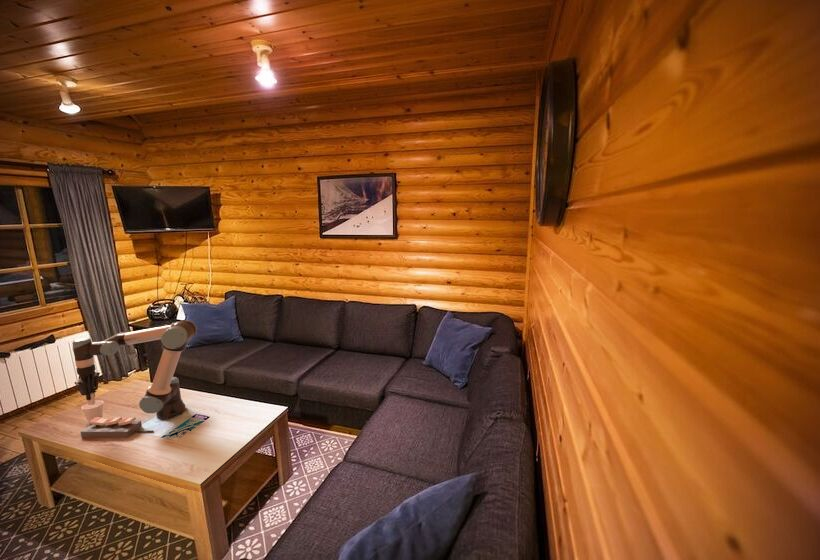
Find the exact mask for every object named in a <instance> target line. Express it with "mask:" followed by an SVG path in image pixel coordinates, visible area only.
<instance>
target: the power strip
mask: <svg viewBox="0 0 820 560" xmlns="http://www.w3.org/2000/svg"><path fill="white" fill-rule="evenodd" d="M119 422H120V421H119ZM119 422H118V423H119ZM118 423H116V424H111V425H106V426H105V425H103V426H101V425H96V424H90V425H89V426H87V427H86V428H84V429H82V430H81V431H80V436H81V439H128V438H130V437H131V436H133V435H134V434H135V433H154V432H155V431H154V430H141V429H142V427H143V425H142V420H134V421H133V422H132V423H130V424H125V425H120V426H119V425H118Z"/></svg>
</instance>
